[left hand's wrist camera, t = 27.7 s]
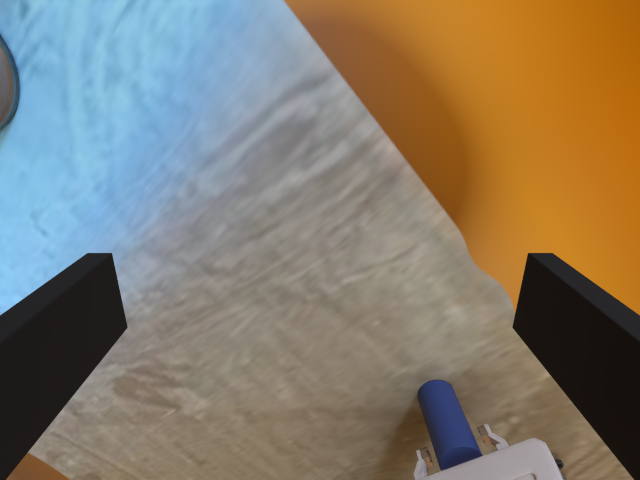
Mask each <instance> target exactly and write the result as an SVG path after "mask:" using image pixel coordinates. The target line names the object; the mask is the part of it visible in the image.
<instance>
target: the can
mask: <svg viewBox="0 0 640 480" xmlns="http://www.w3.org/2000/svg"><path fill="white" fill-rule="evenodd" d="M418 400H419V403H420V406H421V409H422V413H423V416H424V419H425V422H426V425H427V428H428V432H429V435H430V438H431V441H432V444H433V448H434V451H435V454H436V457H437V460H438V463H439V467H440V469H441V470H442V471H443V470H445V469H448V468H451V467H454V466H456V465H459V464H462V463H465V462H467V461H470V460H473V459H476V458H478V457H481V456H482V454H481V451H480V449H479V447H478V444H477V442H476V440H475V438H474V435H473V433H472V431H471V429H470V426H469V424H468V422H467V420H466V417H465V415H464V413H463V410H462V408H461V406H460V404H459V401H458V399H457V397H456V395H455V392H454V390H453V388H452V386H451V385H450V384H449V383H447V382H445V381H442V380H433V381H429V382H427V383H425V384H424V385H423V386H422V387H421V388H420V389H419V392H418Z"/></svg>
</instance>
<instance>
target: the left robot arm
mask: <svg viewBox="0 0 640 480" xmlns="http://www.w3.org/2000/svg"><path fill="white" fill-rule="evenodd" d="M18 99H19V79H18V73H17V69H16V65H15V62H14V60H13V57H12V55H11V53H10V50H9V49H8V47H7V45H6V43H5V42H4V40H3V38H2V37H1V35H0V130H1V129H3V128H4V127H5V126H6V125H7V124H8V123H9V121H10V120H11V118H12V117H13V115H14V113H15V110H16V107H17V104H18ZM126 329H127V323H126V318H125V313H124V309H123V304H122V299H121V294H120V290H119V285H118V280H117V275H116V271H115V266H114V261H113V256H112V253H87V254H86V255H84V256H83V257H81V258H80V259H79V260H77V261H76V262H75V263H73V264H72V265H70V266H69V267H68V268H66V269H65V270H63V271H62V272H61V273H59V274H58V275H56V276H55V277H54V278H52V279H51V280H49V281H48V282H47V283H45V284H44V285H42V286H41V287H40V288H38V289H37V290H35V291H34V292H33V293H31V294H30V295H28V296H27V297H26V298H24V299H23V300H21V301H20V302H19V303H17V304H16V305H14V306H13V307H12V308H10V309H9V310H7V311H6V312H5V313H3V314H2V315H0V480H6V479H7V477H8V476H9V475H10V474H11V472H12V471H13V470H14V469H15V467H16V466H17V465H18V464H19V462H20V461H21V460H22V459H23V457H24V456H25V455H26V454H27V452H28V451H29V450H30V449H31V447H32V446H33V445H34V444H35V442H36V441H37V440H38V439H39V437H40V436H41V435H42V434H43V432H44V431H45V430H46V429H47V427H48V426H49V425H50V424H51V422H52V421H53V420H54V419H55V417H56V416H57V415H58V414H59V412H60V411H61V410H62V409H63V407H64V406H65V405H66V404H67V402H68V401H69V400H70V399H71V397H72V396H73V395H74V394H75V392H76V391H77V390H78V389H79V387H80V386H81V385H82V384H83V382H84V381H85V380H86V379H87V377H88V376H89V375H90V374H91V372H92V371H93V370H94V369H95V367H96V366H97V365H98V364H99V362H100V361H101V360H102V359H103V357H104V356H105V355H106V354H107V352H108V351H109V350H110V349H111V347H112V346H113V345H114V344H115V342H116V341H117V340H118V339H119V337H120V336H121V335H122V334H123V332H124V331H125V330H126ZM513 329H514V330H515V331H516V332H517V334H518V335H519V336H520V337H521V339H522V340H523V341H524V342H525V344H526V345H527V346H528V347H529V349H530V350H531V351H532V352H533V354H534V355H535V356H536V357H537V359H538V360H539V361H540V362H541V364H542V365H543V366H544V367H545V369H546V370H547V371H548V372H549V374H550V375H551V376H552V377H553V379H554V380H555V381H556V382H557V384H558V385H559V386H560V387H561V389H562V390H563V391H564V392H565V394H566V395H567V396H568V397H569V399H570V400H571V401H572V402H573V404H574V405H575V406H576V407H577V409H578V410H579V411H580V412H581V414H582V415H583V416H584V417H585V419H586V420H587V421H588V422H589V424H590V425H591V426H592V427H593V429H594V430H595V431H596V432H597V434H598V435H599V436H600V437H601V439H602V440H603V441H604V442H605V444H606V445H607V446H608V447H609V449H610V450H611V451H612V452H613V454H614V455H615V456H616V457H617V459H618V460H619V461H620V462H621V464H622V465H623V466H624V467H625V469H626V470H627V471H628V472H629V474H630V475H631V476H632V477H633V479H634V480H640V315H638V314H637V313H635V312H634V311H633V310H631V309H630V308H628V307H627V306H626V305H624V304H623V303H621V302H620V301H619V300H617V299H616V298H614V297H613V296H612V295H610V294H609V293H607V292H606V291H605V290H603V289H602V288H600V287H599V286H598V285H596V284H595V283H593V282H592V281H591V280H589V279H588V278H586V277H585V276H584V275H582V274H581V273H579V272H578V271H577V270H575V269H574V268H572V267H571V266H570V265H568V264H567V263H565V262H564V261H563V260H561V259H560V258H559V257H557V256H556V255H554V254H553V253H528V256H527V261H526V266H525V271H524V275H523V280H522V285H521V290H520V294H519V299H518V304H517V309H516V313H515V318H514V323H513Z"/></svg>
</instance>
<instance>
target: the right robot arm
mask: <svg viewBox="0 0 640 480" xmlns="http://www.w3.org/2000/svg"><path fill="white" fill-rule="evenodd" d="M484 426H485V427H484ZM477 429H478V431H479V433H480V435H481V437H482V439H483V441H484V443H485V445H486V446H488V445H491V444H492V445H494V446H495V447H497V449H498V451H495V452H492V453H489V454H487V455H484V456H481V457H478V458H476V459H473V460H470V461H467V462H465V463H462V464H459V465H456V466H454V467H451V468H448V469H445V470H443V471H440V472H437V473H434V474H432V475H429V476H427V472H428V467H431V466H433V465H434V464H433V461H432V459H431V455H430V453H429V451H428V450H427V447H425V448H422V449H419V450H416V453H417V456H418V460H419V461H418V462H417V465H416V468H415V471H414V474H413V475H414V479H415V480H563V477H562V475H561V473H560V470H559V468H558V466H557V464H556V462H555V460H554V458H553V456H552V454H551V452H550V450H549V448H548V447H547V445H546V444H545V442H543V441H541V440H538V439H536V438H531V439H528V440H525V441H522V442H520V443H517V444H514V445H511V446H508V444H507V442H506V440H504V439H502V438H501V437H499V436H497V435H496V434H494V433H492V432H491V430H490V428H489V426H488V424H485V425H483V426H480V427H477Z"/></svg>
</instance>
